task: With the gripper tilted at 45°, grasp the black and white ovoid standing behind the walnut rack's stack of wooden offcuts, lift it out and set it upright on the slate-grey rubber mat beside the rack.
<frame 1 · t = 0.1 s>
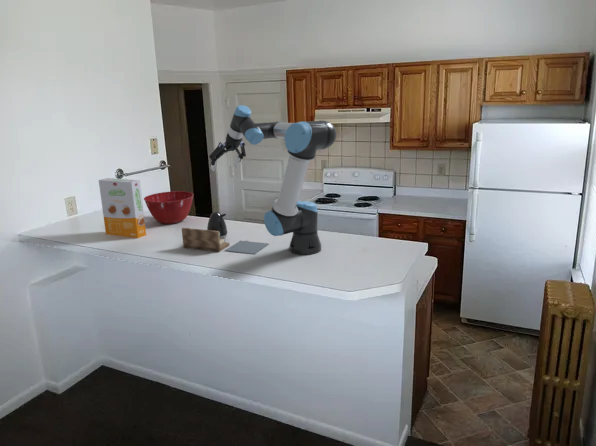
hand: (223, 167, 239), 36 cm above the table, tool tilted 35°, fingers open, 13 cm apart
cereal box: (126, 234, 252), on the table
mixing bowl: (171, 221, 277), on the table
black and white ovoid: (218, 240, 238), on the table
slate mat: (247, 247, 226), on the table
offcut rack: (206, 246, 228), on the table
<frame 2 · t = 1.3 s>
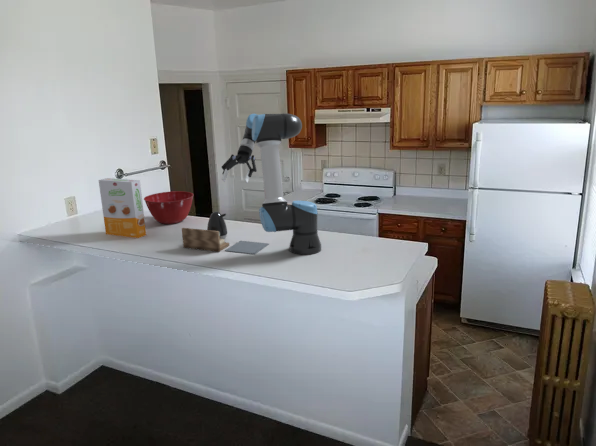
hand: (234, 181, 246), 28 cm above the table, tool tilted 45°, fingers open, 13 cm apart
nothing on the table moved.
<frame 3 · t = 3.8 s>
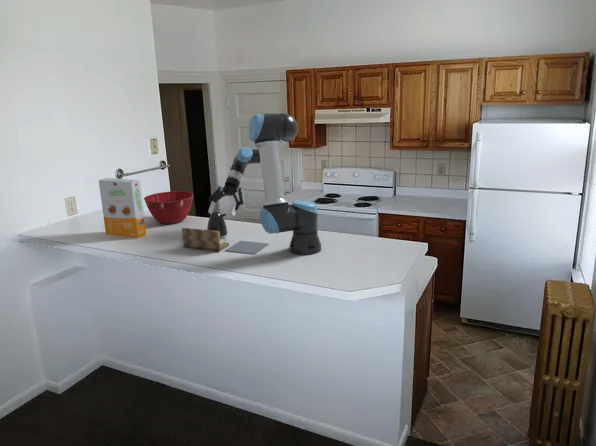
hand: (221, 214, 241), 12 cm above the table, tool tilted 45°, fingers open, 13 cm apart
nothing on the table moved.
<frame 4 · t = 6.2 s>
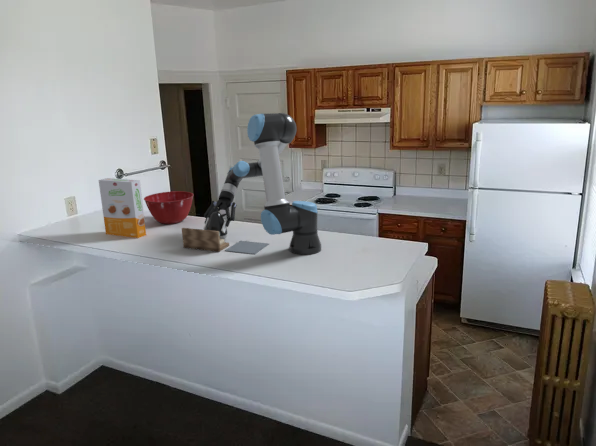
hand: (214, 230, 234), 6 cm above the table, tool tilted 45°, fingers closed on black and white ovoid, 10 cm apart
black and white ovoid: (218, 240, 238), on the table, touching gripper
everything else where it was.
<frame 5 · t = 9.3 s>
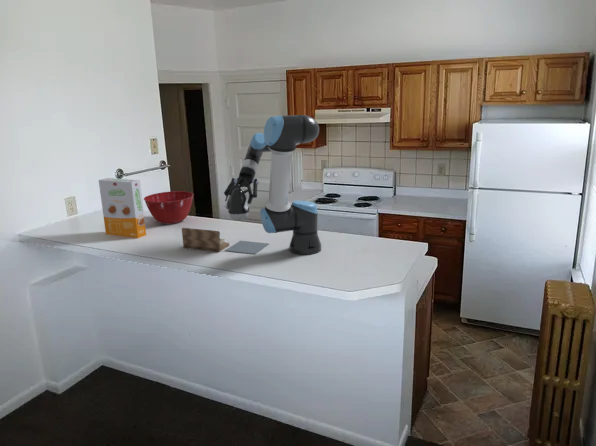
hand: (235, 208, 221), 20 cm above the table, tool tilted 45°, fingers closed on black and white ovoid, 10 cm apart
black and white ovoid: (239, 219, 226), point 13 cm above the table, touching gripper
everything else where it was.
when the fingers open (7 cm above the table, at t = 12.5 s): black and white ovoid stays where it is, resting on slate mat.
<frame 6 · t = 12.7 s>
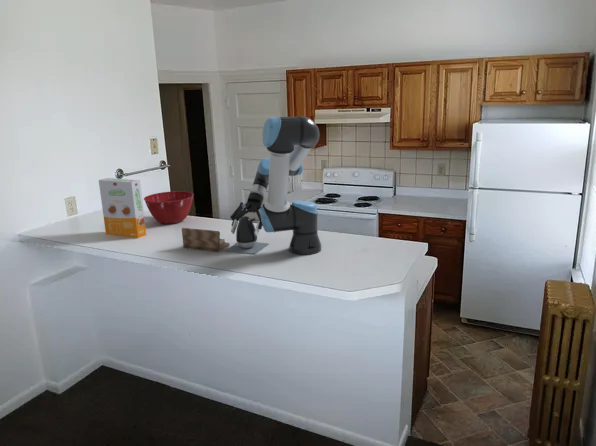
hand: (244, 233, 221), 8 cm above the table, tool tilted 45°, fingers open, 12 cm apart
black and white ovoid: (247, 247, 226), resting on slate mat
everything else where it was.
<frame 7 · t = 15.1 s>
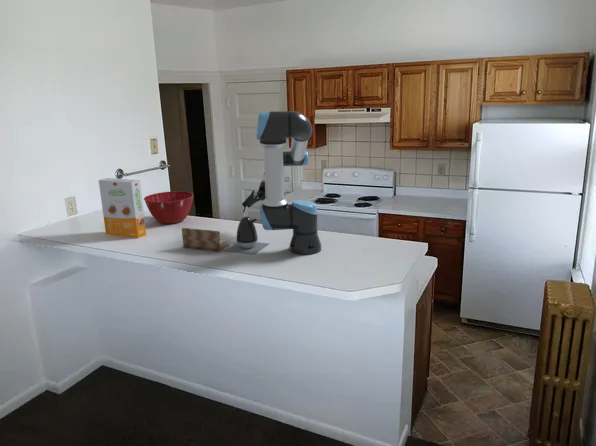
hand: (256, 219, 234), 11 cm above the table, tool tilted 45°, fingers open, 13 cm apart
nothing on the table moved.
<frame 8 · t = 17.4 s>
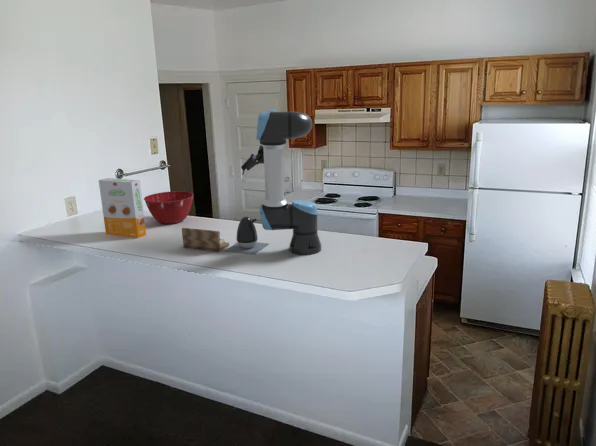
hand: (255, 181, 233), 30 cm above the table, tool tilted 45°, fingers open, 13 cm apart
nothing on the table moved.
at the end: black and white ovoid inside the target area on the slate mat (0.2 cm from its centre), point 0.2 cm above the slate mat's base; black and white ovoid tilted 0°; the gripper is holding nothing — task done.
